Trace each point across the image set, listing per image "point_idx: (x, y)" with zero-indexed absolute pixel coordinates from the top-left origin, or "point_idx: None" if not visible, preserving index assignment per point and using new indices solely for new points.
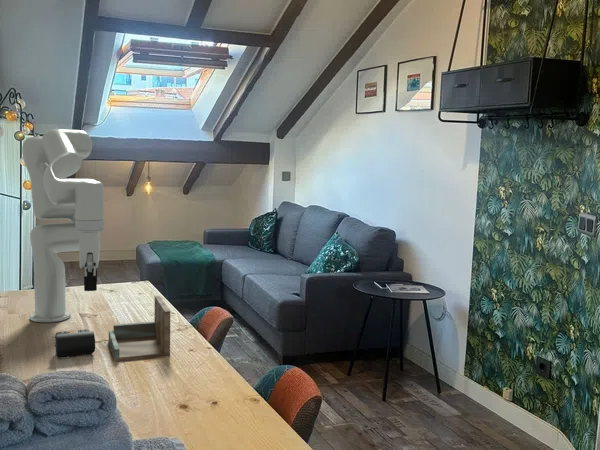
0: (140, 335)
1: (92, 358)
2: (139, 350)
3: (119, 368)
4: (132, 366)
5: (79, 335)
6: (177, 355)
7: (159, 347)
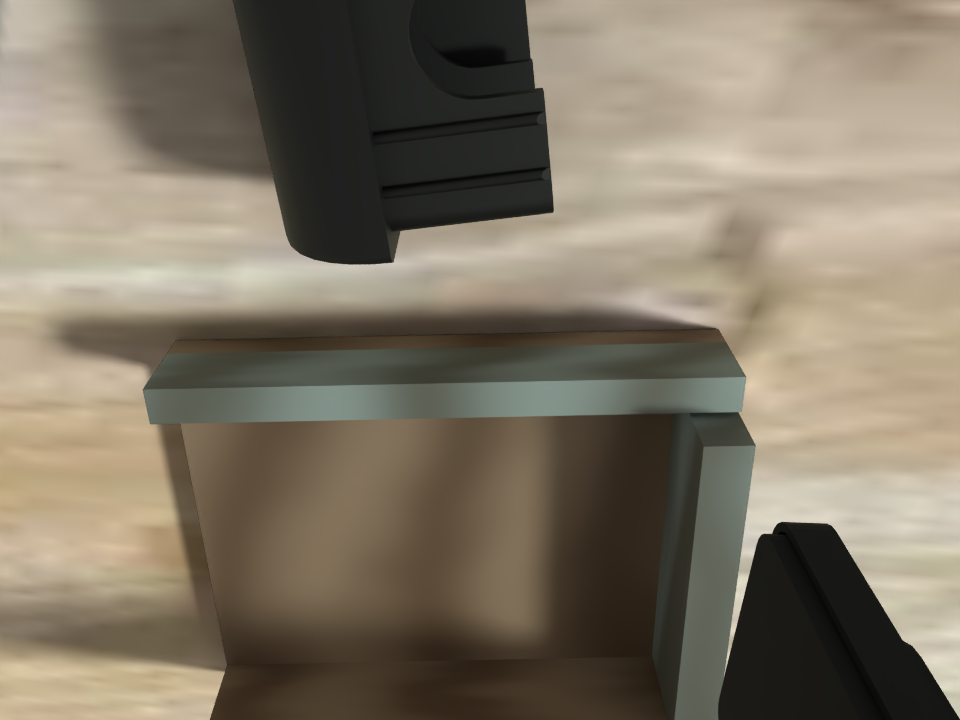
0: (660, 574)
1: None
2: (316, 530)
3: (13, 360)
4: (51, 446)
5: (299, 105)
6: None
7: (357, 651)
